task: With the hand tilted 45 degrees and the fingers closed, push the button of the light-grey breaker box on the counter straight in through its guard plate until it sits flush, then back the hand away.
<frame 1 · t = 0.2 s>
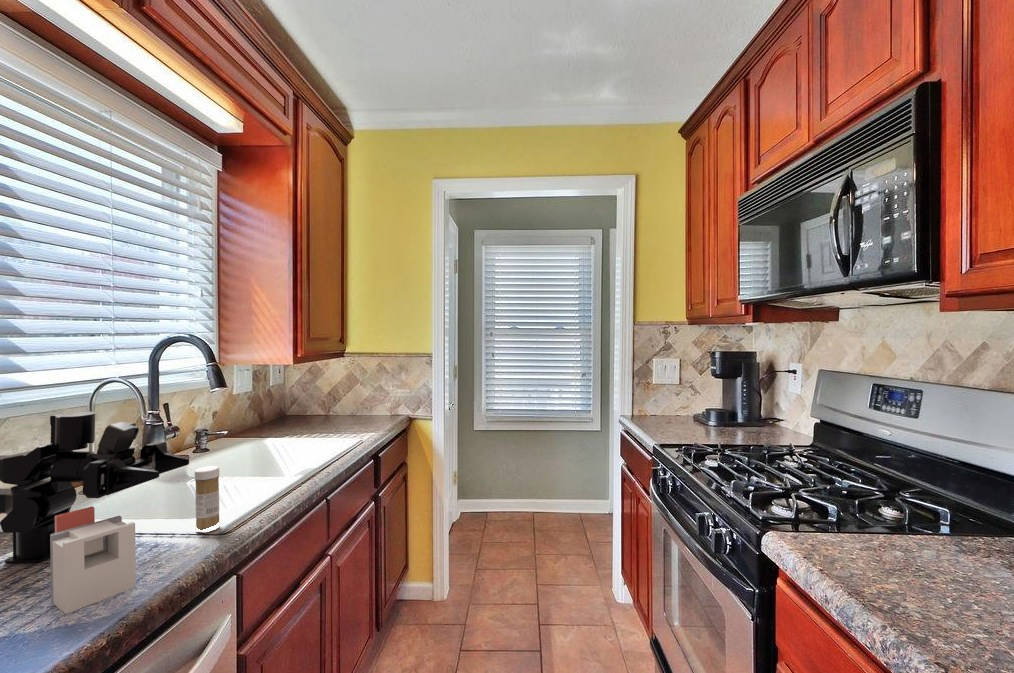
hand: (174, 468, 93), 16 cm above the table, tool horizontal, fingers open, 9 cm apart
breaker box: (95, 594, 77), on the table
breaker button: (83, 534, 80), point 9 cm above the table, slide at 0.0 cm
sprinkles bottle: (207, 530, 103), on the table
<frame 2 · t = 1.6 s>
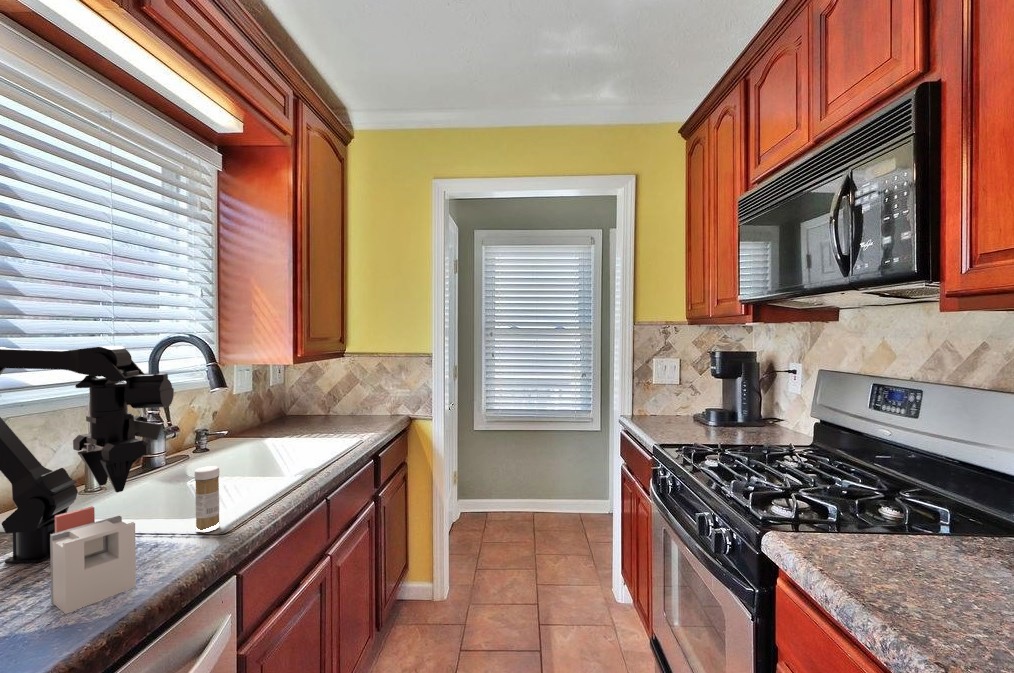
hand: (110, 488, 94), 12 cm above the table, tool pointing down, fingers open, 8 cm apart
nothing on the table moved.
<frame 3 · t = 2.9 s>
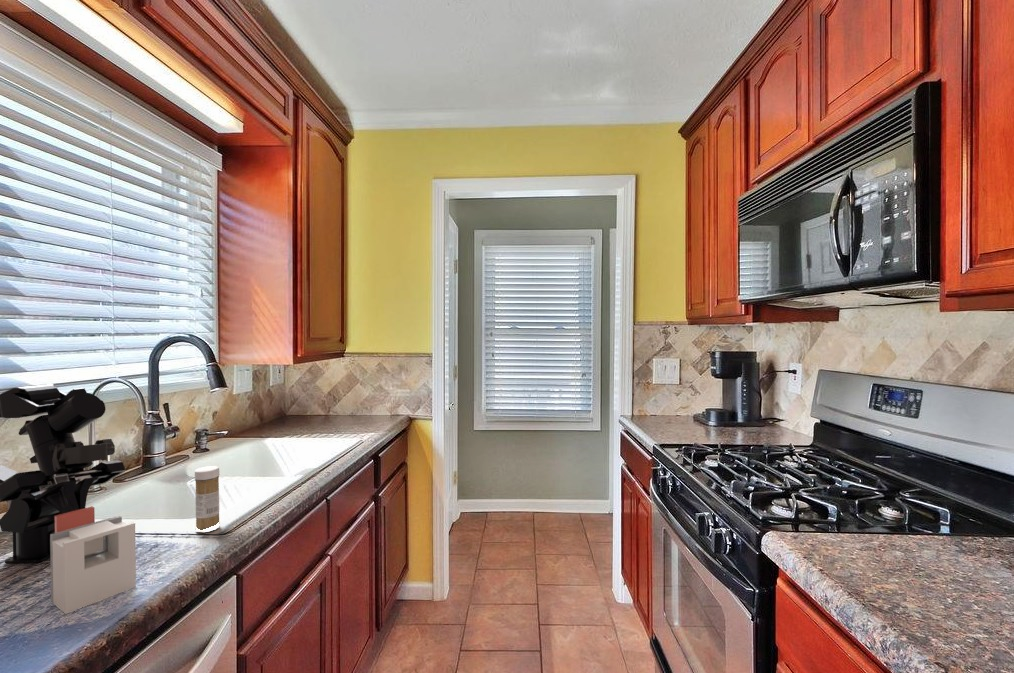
hand: (79, 521, 87), 8 cm above the table, tool tilted 30°, fingers closed
nothing on the table moved.
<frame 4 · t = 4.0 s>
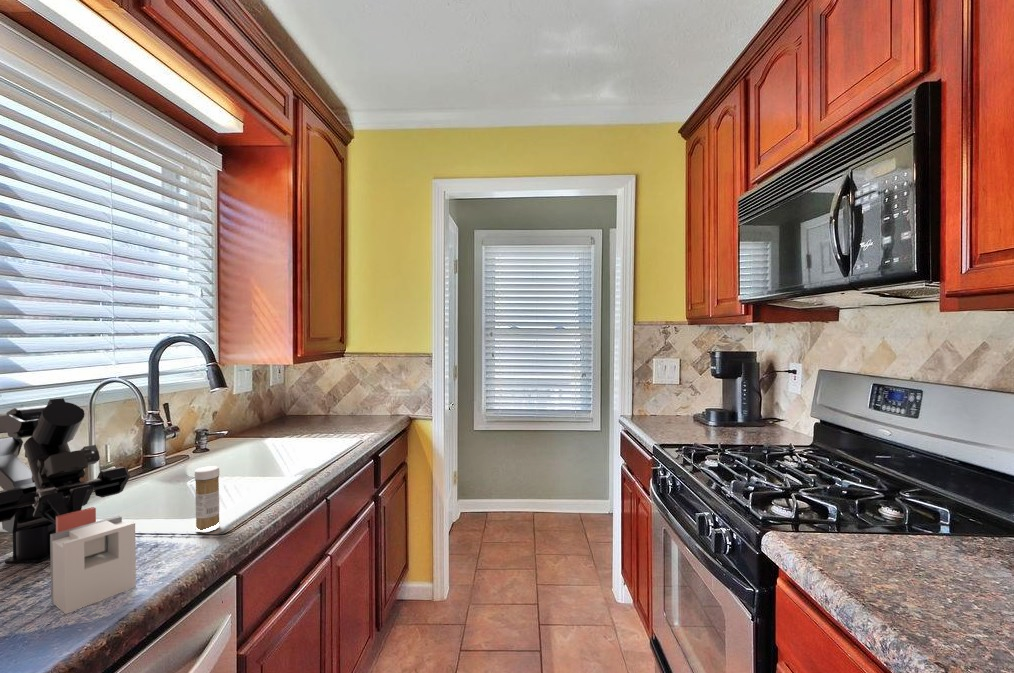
hand: (74, 533, 82), 8 cm above the table, tool tilted 45°, fingers closed, pressing on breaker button
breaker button: (84, 535, 80), point 9 cm above the table, slide at 0.6 cm, touching gripper
everything else where it was.
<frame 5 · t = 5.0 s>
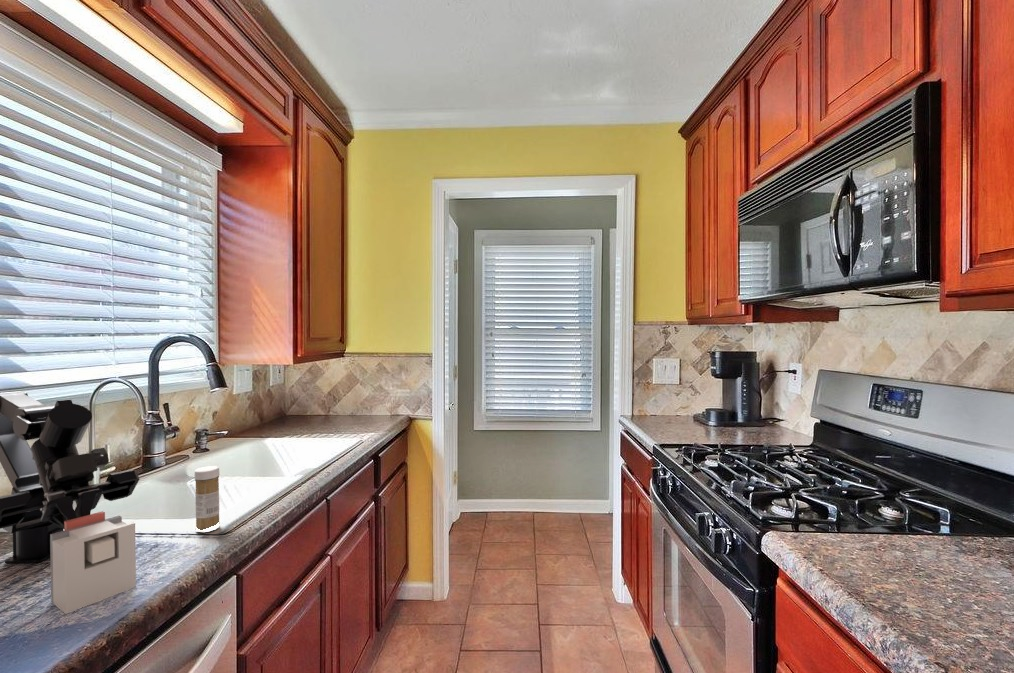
hand: (83, 538, 80), 8 cm above the table, tool tilted 45°, fingers closed, pressing on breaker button
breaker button: (93, 540, 78), point 9 cm above the table, slide at 4.5 cm, touching gripper
everything else where it was.
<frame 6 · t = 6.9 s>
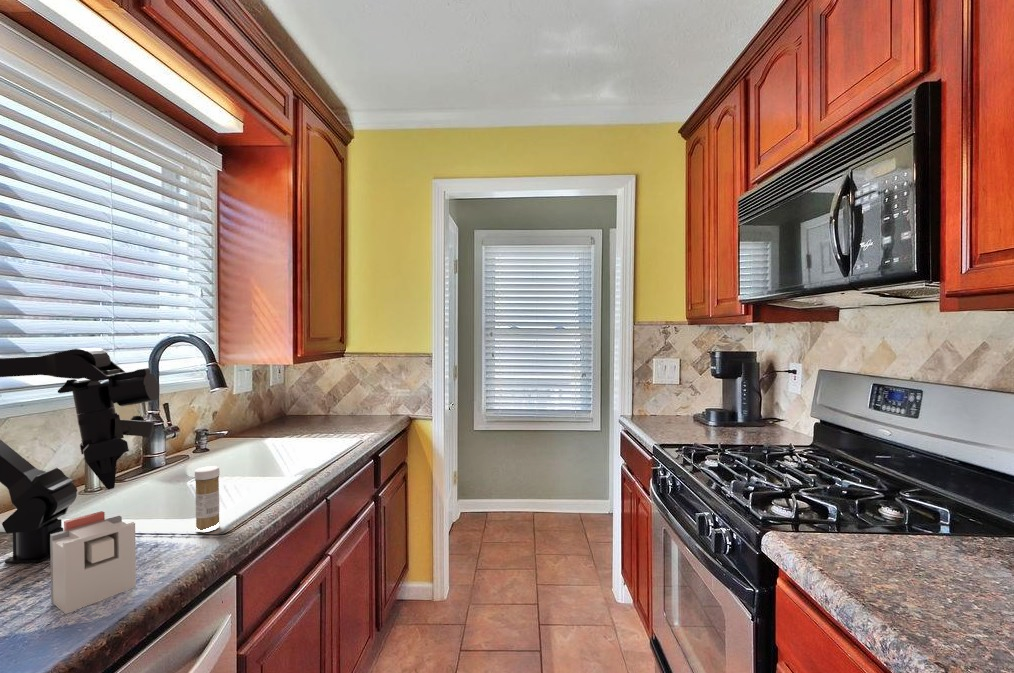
hand: (111, 488, 93), 12 cm above the table, tool pointing down, fingers closed
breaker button: (93, 540, 78), point 9 cm above the table, slide at 4.3 cm
everything else where it was.
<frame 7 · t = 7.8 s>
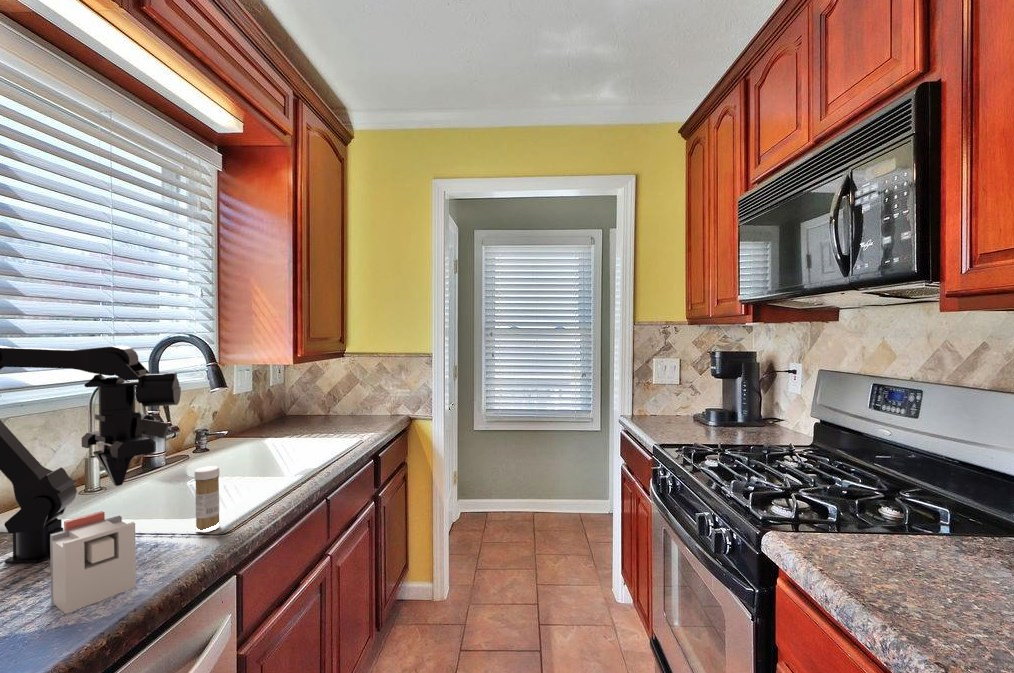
hand: (118, 485, 96), 12 cm above the table, tool pointing down, fingers closed
nothing on the table moved.
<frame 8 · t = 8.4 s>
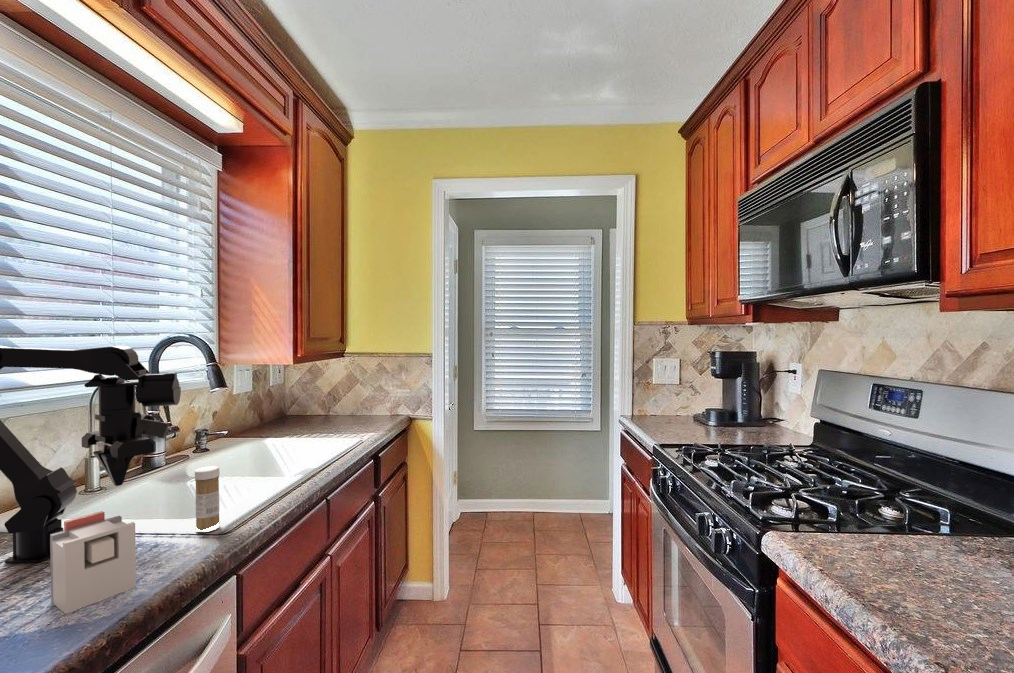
hand: (118, 485, 96), 12 cm above the table, tool pointing down, fingers closed
nothing on the table moved.
at the end: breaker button slide at 4.3 cm; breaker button touching nothing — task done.
